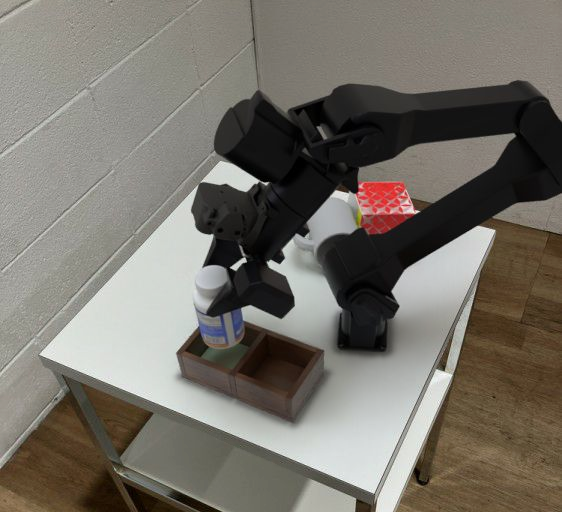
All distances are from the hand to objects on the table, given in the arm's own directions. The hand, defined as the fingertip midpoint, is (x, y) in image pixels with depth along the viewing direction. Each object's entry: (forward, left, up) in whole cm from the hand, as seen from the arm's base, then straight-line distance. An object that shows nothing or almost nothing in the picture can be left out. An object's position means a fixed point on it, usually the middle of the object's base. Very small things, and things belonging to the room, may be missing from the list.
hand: (204, 298), depth 74 cm
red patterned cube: (+30, -19, -8) cm, 37 cm away
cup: (+28, -11, -8) cm, 31 cm away
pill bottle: (+1, -1, -7) cm, 7 cm away
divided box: (-1, -5, -12) cm, 13 cm away
